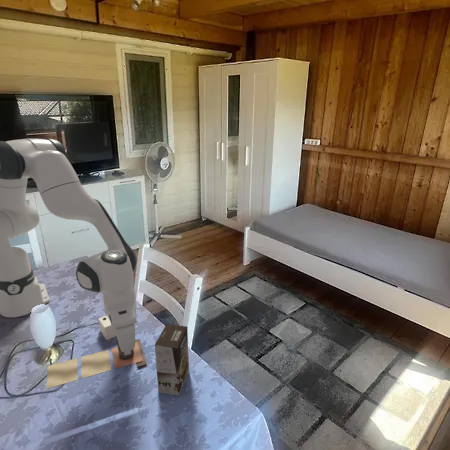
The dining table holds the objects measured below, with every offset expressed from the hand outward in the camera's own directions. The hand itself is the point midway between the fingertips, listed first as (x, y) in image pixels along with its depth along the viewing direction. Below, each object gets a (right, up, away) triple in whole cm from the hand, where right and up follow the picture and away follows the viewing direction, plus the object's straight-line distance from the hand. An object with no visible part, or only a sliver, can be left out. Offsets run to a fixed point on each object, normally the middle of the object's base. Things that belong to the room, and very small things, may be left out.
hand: (125, 342), depth 100 cm
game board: (-8, -6, -2) cm, 10 cm away
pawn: (0, -4, +2) cm, 4 cm away
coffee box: (+16, -9, -7) cm, 19 cm away
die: (-8, -1, +12) cm, 14 cm away
